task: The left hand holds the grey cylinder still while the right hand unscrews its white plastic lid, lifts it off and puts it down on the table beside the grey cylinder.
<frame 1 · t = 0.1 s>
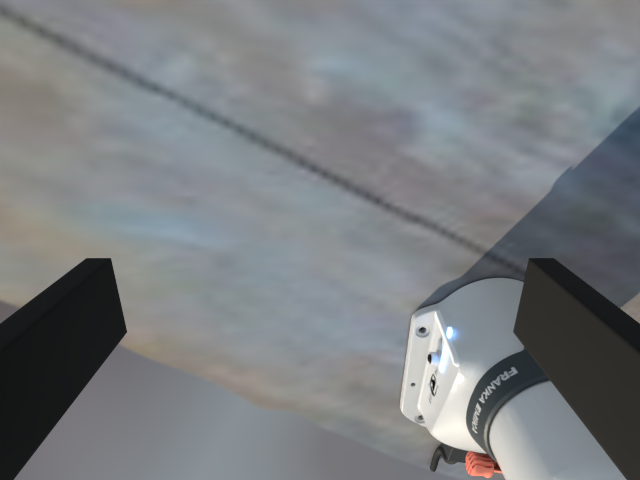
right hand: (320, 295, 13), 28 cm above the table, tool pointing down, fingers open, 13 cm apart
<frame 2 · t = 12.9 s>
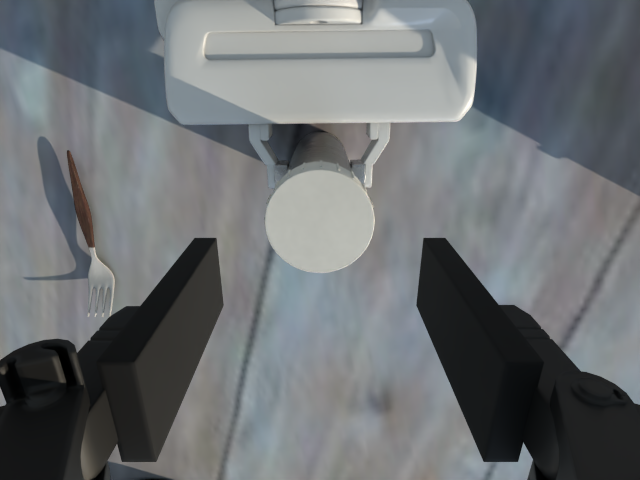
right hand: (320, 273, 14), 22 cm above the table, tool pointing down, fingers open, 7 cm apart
left hand: (320, 186, 29), fingers closed on grey cylinder, 5 cm apart
lid: (319, 221, 19), point 17 cm above the table, screwed on, not yet turned
fork: (92, 233, 38), on the table
grey cylinder: (319, 158, 35), on the table, touching left hand
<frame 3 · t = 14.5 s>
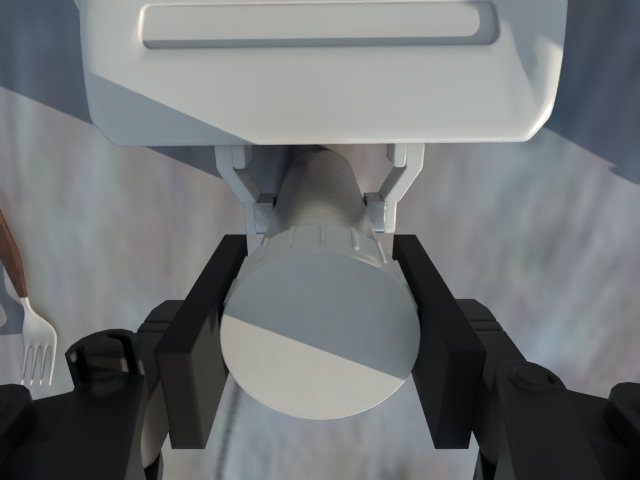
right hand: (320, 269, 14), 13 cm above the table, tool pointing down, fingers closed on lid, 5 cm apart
left hand: (321, 230, 21), fingers closed on grey cylinder, 5 cm apart
lid: (320, 335, 11), point 17 cm above the table, screwed on, not yet turned, touching right hand
fork: (25, 279, 29), on the table
grey cylinder: (320, 184, 26), on the table, touching left hand
when the right hand's fingers open (13 cm above the table, at t = 15.9 s): lid stays where it is, point 17 cm above the table.
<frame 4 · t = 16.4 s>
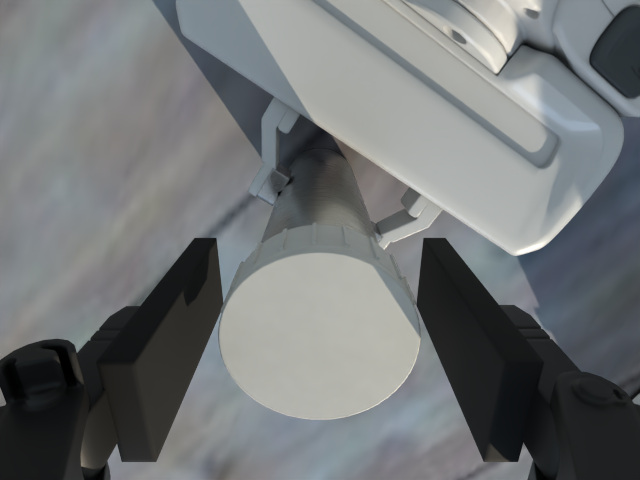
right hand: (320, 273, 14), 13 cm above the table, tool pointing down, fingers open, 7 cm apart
left hand: (311, 226, 21), fingers closed on grey cylinder, 5 cm apart
lid: (319, 335, 11), point 17 cm above the table, turned 74° so far, risen 0.2 cm, still on its thread
grey cylinder: (319, 183, 27), on the table, touching left hand
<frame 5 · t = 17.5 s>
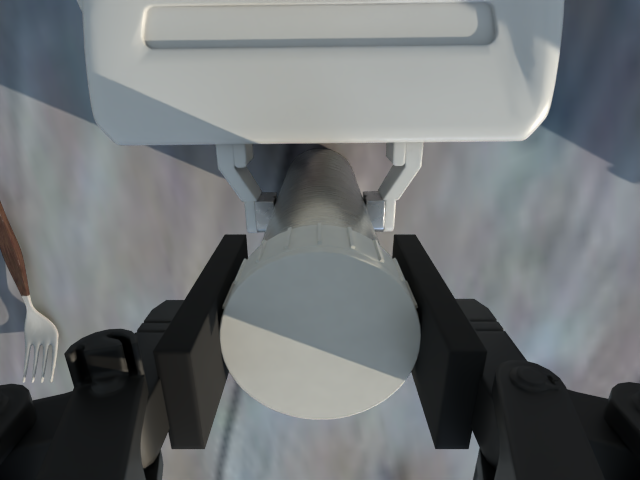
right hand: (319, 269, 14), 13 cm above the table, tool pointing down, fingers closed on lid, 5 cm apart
left hand: (321, 228, 21), fingers closed on grey cylinder, 5 cm apart
lid: (320, 336, 11), point 17 cm above the table, turned 74° so far, risen 0.2 cm, still on its thread, touching right hand
fork: (27, 277, 29), on the table
grey cylinder: (320, 183, 27), on the table, touching left hand
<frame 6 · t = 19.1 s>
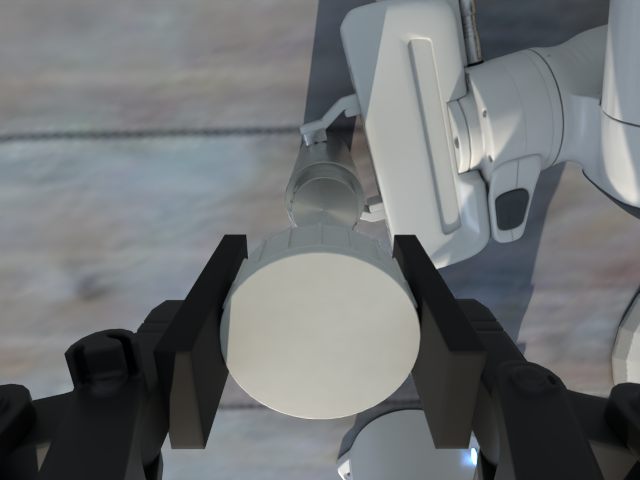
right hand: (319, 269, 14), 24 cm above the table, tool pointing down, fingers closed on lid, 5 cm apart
left hand: (313, 174, 31), fingers closed on grey cylinder, 5 cm apart
lid: (320, 335, 11), point 28 cm above the table, off its thread, touching right hand
grey cylinder: (324, 156, 37), on the table, touching left hand
when the right hand's fingers open (0 cm above the table, at t = 24.6 s): lid drops 3 cm, point 2 cm above the table.
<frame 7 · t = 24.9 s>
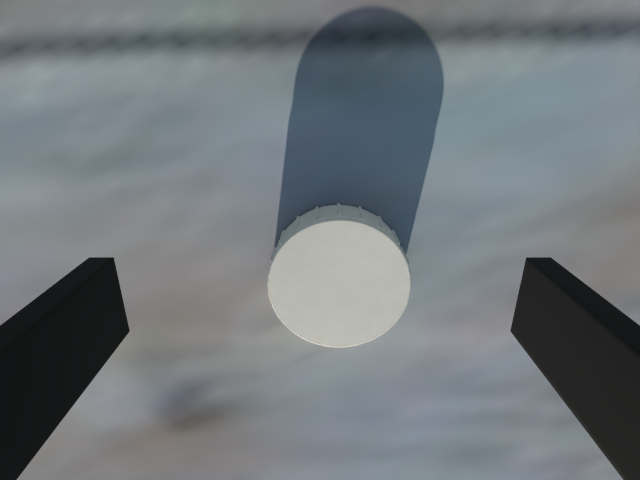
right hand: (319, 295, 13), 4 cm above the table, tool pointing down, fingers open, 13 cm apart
lid: (338, 283, 15), point 2 cm above the table, off its thread
when the left hand's fingers open (6 cm above the table, at t = 25.3 s): grey cylinder stays where it is, on the table.
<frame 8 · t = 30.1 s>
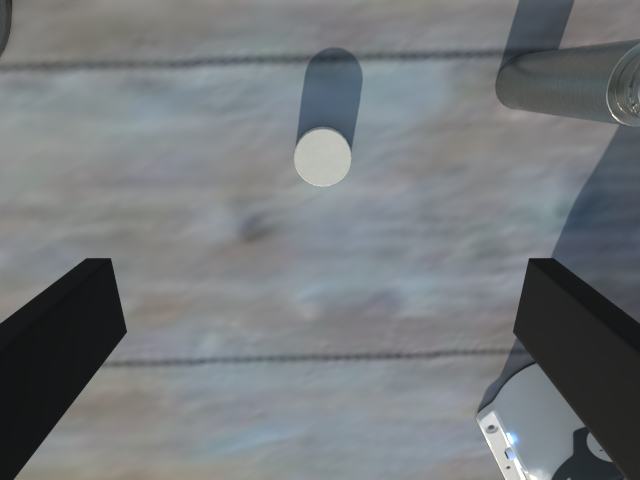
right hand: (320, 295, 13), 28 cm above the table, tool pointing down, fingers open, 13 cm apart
lid: (322, 157, 37), point 2 cm above the table, off its thread
grey cylinder: (521, 82, 36), on the table
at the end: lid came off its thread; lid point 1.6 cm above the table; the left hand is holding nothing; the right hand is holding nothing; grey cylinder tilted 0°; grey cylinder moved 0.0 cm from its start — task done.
